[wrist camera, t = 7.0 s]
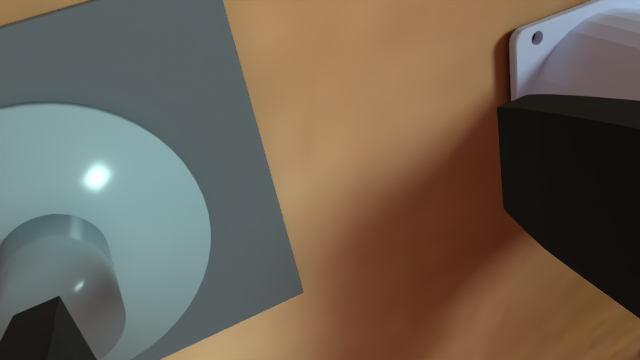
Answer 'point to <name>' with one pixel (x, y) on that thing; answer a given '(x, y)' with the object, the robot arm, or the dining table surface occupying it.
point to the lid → (97, 224)
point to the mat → (171, 132)
